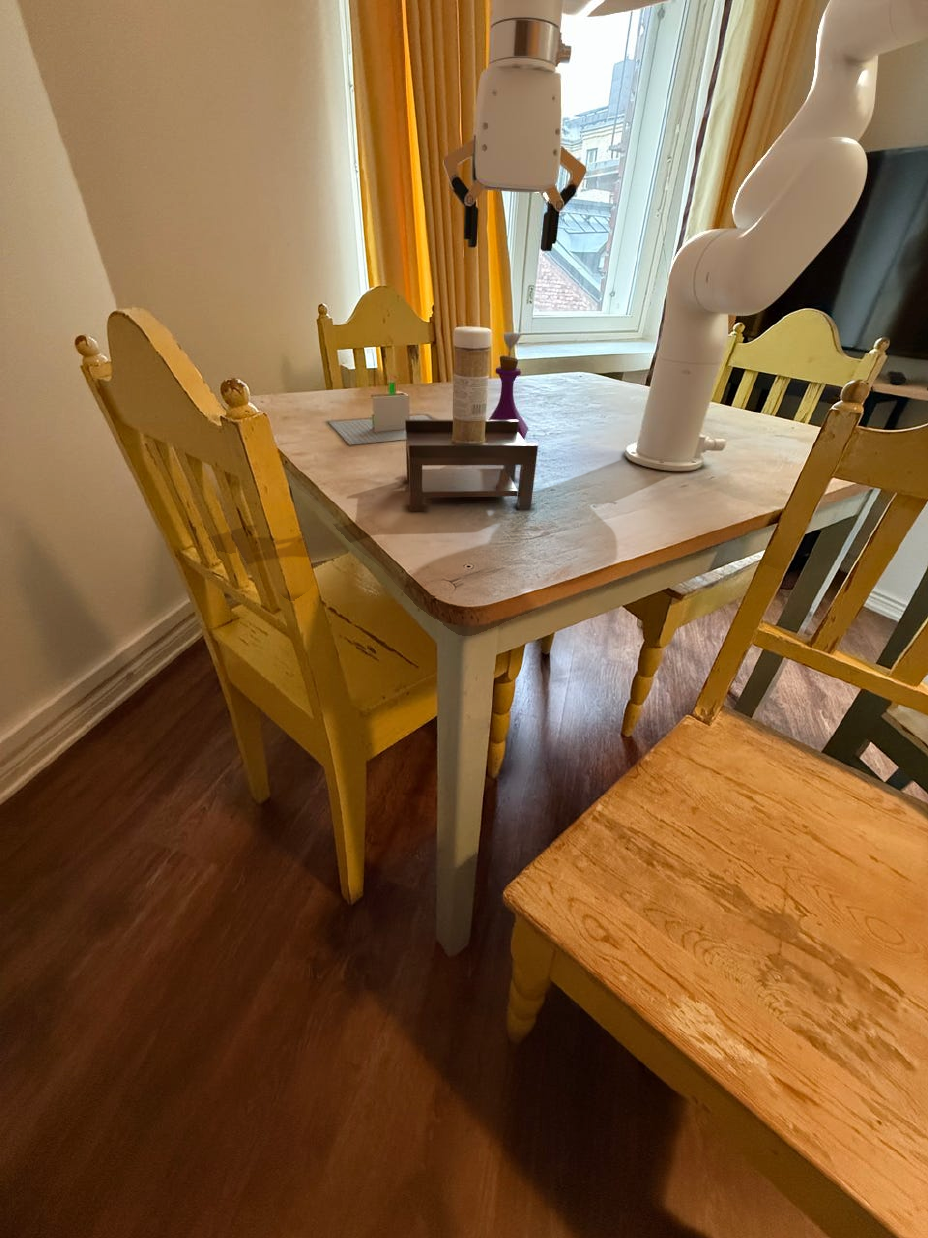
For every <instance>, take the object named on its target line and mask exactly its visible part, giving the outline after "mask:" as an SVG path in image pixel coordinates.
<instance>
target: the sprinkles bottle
mask: <svg viewBox="0 0 928 1238" xmlns="http://www.w3.org/2000/svg"><path fill="white" fill-rule="evenodd" d="M492 335H493V333H492V330H491V329H490V328H488V327H484V326H469V325H468V326H467V325H464V326H457V327H455V328H454V329H453V335H452V345H453V351H454V354H453V355H454V357H453V363H454V364H453V375H452V376H453V379H452V381H453V382H452V420H453V436H452V442H453V443H455V444H484V443H485V420H487V414H488V413H487V412H488V399H489V398H488V397H489V395H488V394H489V381H490V380H489V379H490V378H489V377H490V376H489V367H490V366H489V365H490V364H489V363H490V351H491V348H490V347H492Z"/></svg>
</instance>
